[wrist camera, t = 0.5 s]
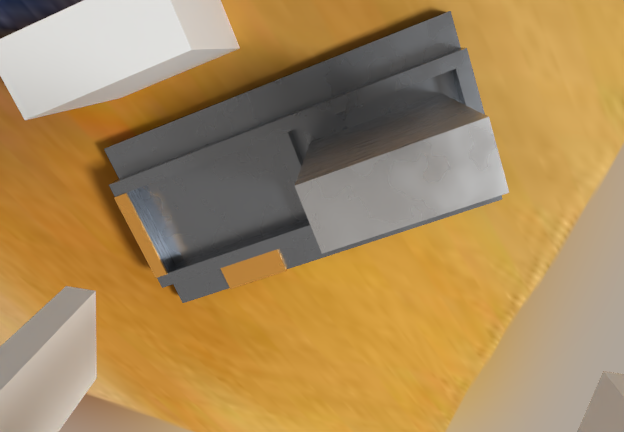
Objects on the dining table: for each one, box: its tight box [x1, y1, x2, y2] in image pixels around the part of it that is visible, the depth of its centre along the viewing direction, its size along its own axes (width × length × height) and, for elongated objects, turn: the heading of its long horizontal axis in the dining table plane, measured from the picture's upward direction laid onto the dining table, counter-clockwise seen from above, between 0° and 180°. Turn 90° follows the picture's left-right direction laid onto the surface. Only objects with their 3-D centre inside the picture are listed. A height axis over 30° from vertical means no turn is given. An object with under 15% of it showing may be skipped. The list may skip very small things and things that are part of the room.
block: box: [0, 0, 240, 120], centre depth 31 cm, size 4×10×12 cm, turn 111°
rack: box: [104, 11, 509, 303], centre depth 32 cm, size 14×27×13 cm, turn 111°
